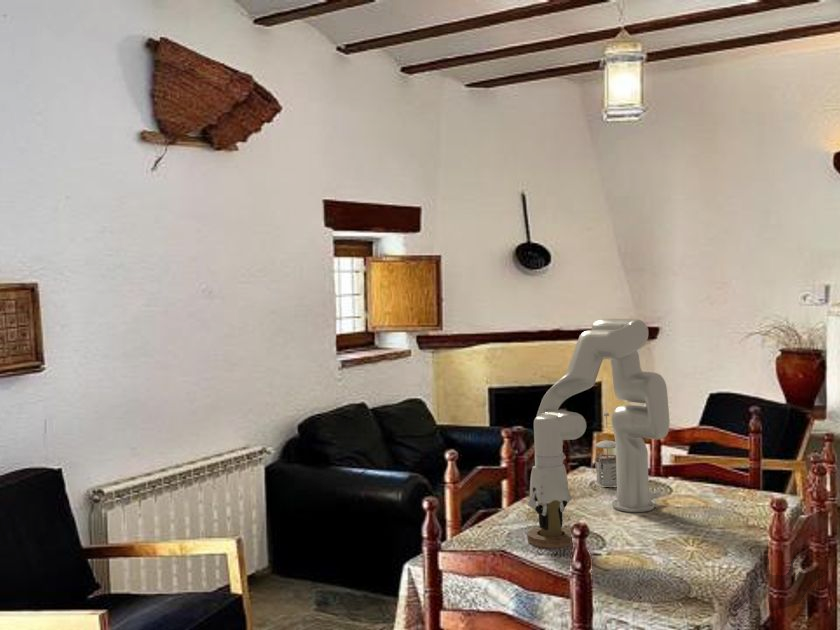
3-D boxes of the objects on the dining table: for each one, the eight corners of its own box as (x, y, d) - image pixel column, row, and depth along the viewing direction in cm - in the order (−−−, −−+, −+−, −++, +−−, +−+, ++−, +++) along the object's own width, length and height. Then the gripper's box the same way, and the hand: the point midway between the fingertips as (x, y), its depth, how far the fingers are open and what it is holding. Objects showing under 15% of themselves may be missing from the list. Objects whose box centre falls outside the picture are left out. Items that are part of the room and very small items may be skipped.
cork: (562, 540, 221) (561, 500, 221) (539, 539, 222) (538, 499, 222) (563, 533, 227) (561, 494, 227) (540, 533, 228) (539, 493, 228)
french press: (628, 483, 283) (626, 411, 282) (610, 490, 275) (608, 416, 274) (603, 479, 290) (601, 409, 289) (585, 486, 281) (583, 414, 280)
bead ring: (556, 530, 233) (556, 523, 233) (584, 542, 222) (583, 535, 222) (519, 538, 228) (518, 531, 228) (545, 550, 216) (545, 543, 216)
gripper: (565, 454, 231) (567, 519, 232) (515, 462, 224) (517, 529, 224) (582, 459, 224) (584, 525, 225) (531, 467, 217) (533, 536, 218)
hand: (551, 526), depth 225 cm, fingers closed on cork, 3 cm apart
